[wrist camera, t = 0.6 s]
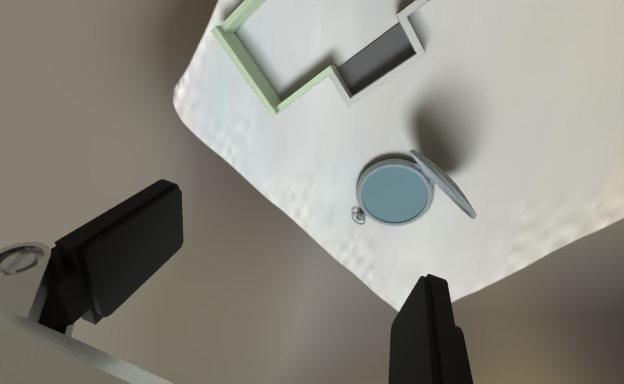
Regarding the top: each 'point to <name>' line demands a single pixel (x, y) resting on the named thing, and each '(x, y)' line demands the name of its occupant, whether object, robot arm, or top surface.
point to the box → (347, 79)
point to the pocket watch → (404, 190)
